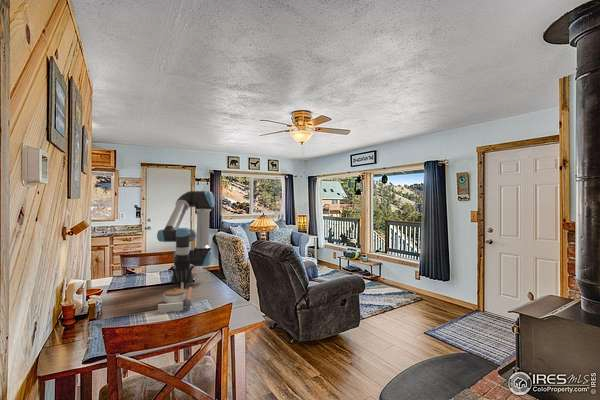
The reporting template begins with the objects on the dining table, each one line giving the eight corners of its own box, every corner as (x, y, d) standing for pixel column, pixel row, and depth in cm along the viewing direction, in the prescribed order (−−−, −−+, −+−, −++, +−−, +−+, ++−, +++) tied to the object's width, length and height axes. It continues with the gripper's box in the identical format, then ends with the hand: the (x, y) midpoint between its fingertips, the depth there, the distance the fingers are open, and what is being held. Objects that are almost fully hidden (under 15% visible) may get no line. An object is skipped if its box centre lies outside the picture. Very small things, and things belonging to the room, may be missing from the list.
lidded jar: (162, 309, 160) (162, 291, 160) (165, 303, 170) (165, 286, 170) (184, 307, 163) (184, 290, 163) (186, 301, 173) (186, 285, 173)
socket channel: (163, 301, 173) (163, 294, 173) (192, 298, 178) (192, 291, 178) (157, 313, 154) (157, 305, 154) (190, 310, 159) (190, 302, 159)
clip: (188, 292, 182) (188, 287, 182) (193, 291, 183) (193, 286, 183) (184, 306, 158) (185, 300, 158) (191, 305, 159) (191, 299, 159)
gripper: (169, 255, 173) (169, 296, 173) (193, 254, 177) (193, 295, 176) (171, 253, 181) (171, 293, 180) (194, 252, 184) (194, 291, 184)
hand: (182, 294), depth 178 cm, fingers closed
